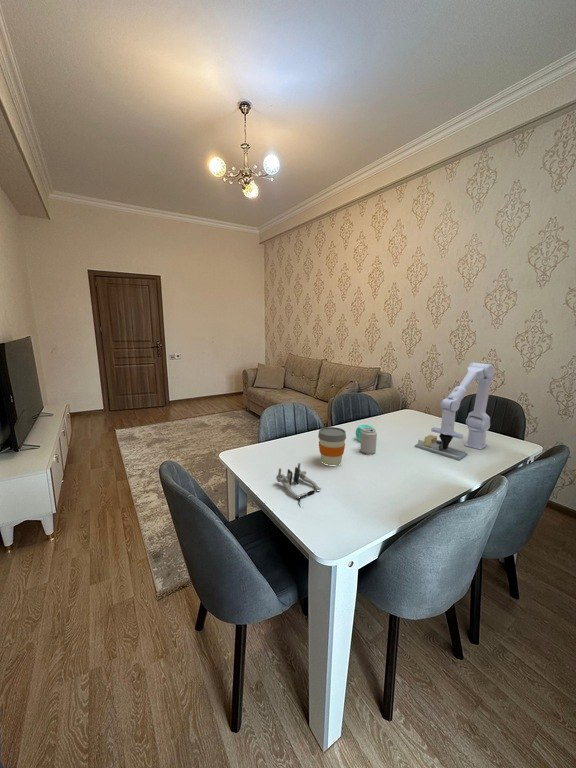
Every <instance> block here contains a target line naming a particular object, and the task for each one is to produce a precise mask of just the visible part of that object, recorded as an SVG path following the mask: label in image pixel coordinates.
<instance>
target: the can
mask: <svg viewBox="0 0 576 768" xmlns="http://www.w3.org/2000/svg"><path fill="white" fill-rule="evenodd" d="M377 433H378V432H377V431H376V428H375V427H374V428H368V427H367V428H363V430H362V431H361V442H360V448H359V450H360V451H361V452H362V454H365V453H366V454H365V455H373V454H374V453H376V451H377V450H376V449H377V435H378V434H377Z"/></svg>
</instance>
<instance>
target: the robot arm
mask: <svg viewBox="0 0 576 768" xmlns="http://www.w3.org/2000/svg"><path fill="white" fill-rule="evenodd" d="M466 370H467V371H466V372H467V373H466V375H465V376H464V378H463V379H462V381H461V382H460V384H459V386H454V388H453V390H452V391H451V392H450V393H449V395H448V396H447V397H445V398H444V399H442V400H441V401H440V404H439V405H440V409H441V413H442V414H441V423H440V428H439V427H435V426H433V427H431V428H430V429H431V433H437V434H439V440H440V441H442V445H443V449H445V450H446V449H447V448H448V447H449V446H450V444H451V441H452V440H453V439H454V438H457V439H459V440H463V439H464V434H463V433H460V432H458V431H457V432H456V431H454V430H455V423H456V413H457V411H458V410H459V409H460V405H461V402H462V400H463V399H464V397H465V396H466V395H467V389H469V387H470V386H471V385H472V384H473V383H474V381H476V380H477V381H478V385H477V389H476V390H477V391H476V396H475V401H474V406H473V410H472V411H470V412H468V415H467V418H466V419H465V425H466V426H467V429H468V435H467V442H465V443H464V444H463V445H464V446H466V447H470V448H472V449H476V450H480V451H481V450H483V449H484V448H485V447H487V446H488V444H486V440H487V439H486V438H487V431H488V430H489V429H490V427H491V417H490V416H489V415H488V414H487V413H486V410H487V406H488V401H489V395H490V390H491V384H492V381H493V380H494V376H495V370H496V369H495V367H494V366H493V364H490V363H481V362H480V363H479V362H476V361H475V362H474V361H473V362H471V363H470V364H469V365H468V366H467V368H466Z"/></svg>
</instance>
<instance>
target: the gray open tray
mask: <svg viewBox="0 0 576 768" xmlns="http://www.w3.org/2000/svg"><path fill="white" fill-rule="evenodd" d="M425 437H426V436H423V437H421V438H419V439H418V440H417V443H416V444H415V445H414V448H417V449H421V450H422V451H426V452H430V453H432V454H436V455H439V456H441V457H442V456H443V457H446V458H449V459H452V460H455V461H461V460H463V459H464V458H465V457H467V456H468V455H469V454H468V452H466V451H465V450H461V449H459V448H458V449H457V448H456V447H455V448H454V447H452V446H448V448H447V449H446V450H445V449H441V450H439V451H438V450H435V449H432V448H428V447H425V446H424V439H425Z"/></svg>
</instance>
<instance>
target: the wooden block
mask: <svg viewBox="0 0 576 768" xmlns="http://www.w3.org/2000/svg"><path fill="white" fill-rule="evenodd" d="M424 437H425V439H424V446H425V447H428V448H431V443H432V442H434V441H436V440H438V439H437V438H438V436H436V435H432V434H428V435H427V436H424Z"/></svg>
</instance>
